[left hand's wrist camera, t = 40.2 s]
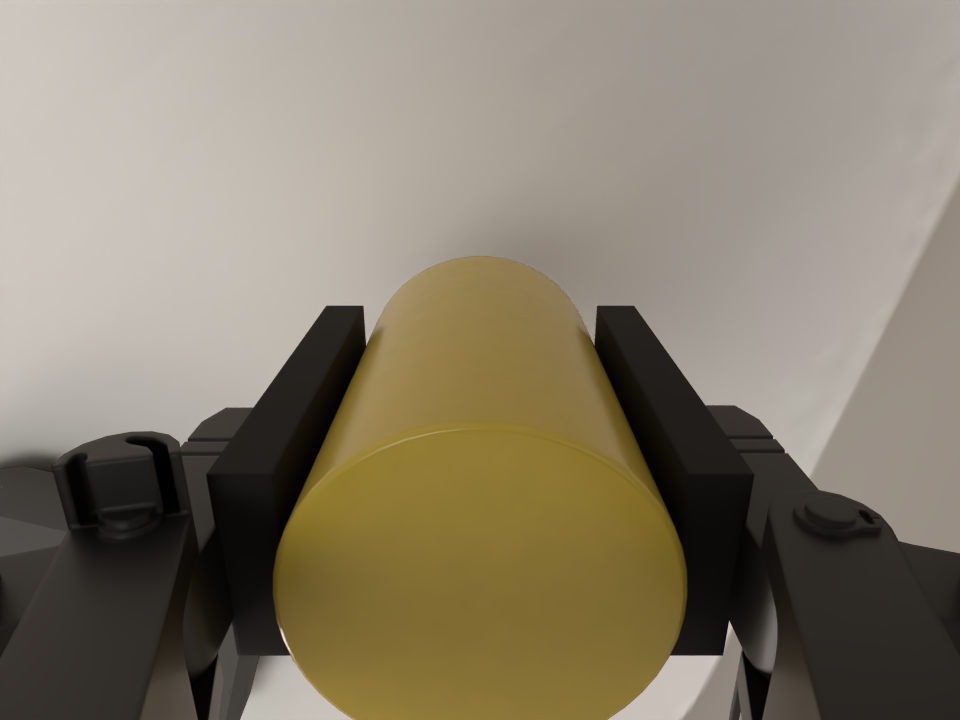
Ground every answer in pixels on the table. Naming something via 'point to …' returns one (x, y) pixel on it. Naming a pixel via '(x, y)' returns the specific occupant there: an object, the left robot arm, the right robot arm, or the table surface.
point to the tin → (480, 518)
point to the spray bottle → (42, 524)
